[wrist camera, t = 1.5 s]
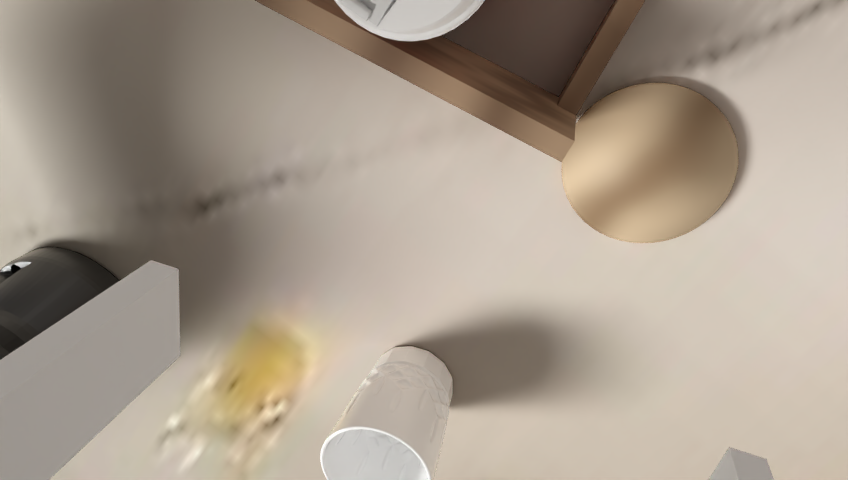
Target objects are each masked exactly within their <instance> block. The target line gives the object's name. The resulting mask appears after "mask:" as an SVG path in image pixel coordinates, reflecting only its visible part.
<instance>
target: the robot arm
mask: <svg viewBox="0 0 848 480" xmlns="http://www.w3.org/2000/svg"><path fill="white" fill-rule="evenodd" d="M179 356H180V310H179V269H177V268H174V267H171V266H168V265H165V264H162V263H159V262H156V261H153V260H150V261H149V262H147V263H146V264H144V265H143V266H141V267H140V268H138V269H137V270H135V271H134V272H132V273H131V274H129V275H128V276H126V277H125V278H123V279H122V280H120V281H118V280H117V279H116V278H115V277H114V276H113V275H112V274H111V273H110V272H108V271H107V270H106V269H105V268H103V267H102V266H100V265H99V264H97V263H96V262H94V261H93V260H91V259H89V258H87V257H85V256H83V255H81V254H78V253H76V252H73V251H70V250H66V249H62V248H53V247H47V248H40V249H36V250H33V251H31V252H29V253H27V254H25V255H23V256H21V257H19V258H17V259H15V260H13V261H11V262H9V263H8V264H7V265H5V266H4V267H3V268H2V269H1V270H0V480H49V479H50V478H52V477H53V476H54V475H55V474H56V473H57V472H58V471H59V470H60V469H61V468H62V467H63V466H64V465H65V464H66V463H67V462H68V461H70V460H71V459H72V458H73V457H74V456H75V455H76V454H77V453H78V452H79V451H80V450H81V449H82V448H83V447H84V446H85V445H86V444H87V443H89V442H90V441H91V440H92V439H93V438H94V437H95V436H96V435H97V434H98V433H99V432H100V431H101V430H102V429H103V428H104V427H105V426H107V425H108V424H109V423H110V422H111V421H112V420H113V419H114V418H115V417H116V416H117V415H118V414H119V413H120V412H121V411H122V410H123V409H124V408H126V407H127V406H128V405H129V404H130V403H131V402H132V401H133V400H134V399H135V398H136V397H137V396H138V395H139V394H140V393H141V392H142V391H144V390H145V389H146V388H147V387H148V386H149V385H150V384H151V383H152V382H153V381H154V380H155V379H156V378H157V377H158V376H159V375H160V374H161V373H163V372H164V371H165V370H166V369H167V368H168V367H169V366H170V365H171V364H172V363H173V362H174V361H175V360H176V359H177V358H178V357H179ZM709 480H774V478H773V476H772V473H771V470H770V467H769V465H768V462H767V459H764V458H761V457H758V456H755V455H752V454H749V453H746V452H743V451H740V450H737V449H734V448H730V447H729V448H728V450H727V451H726V453H725V454H724V456H723V457H722V459H721V461H720V462H719V464H718V465H717V467H716V469H715V470H714V472H713V473H712V475H711V476H710V478H709Z"/></svg>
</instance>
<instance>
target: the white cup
mask: <svg viewBox="0 0 848 480" xmlns="http://www.w3.org/2000/svg"><path fill="white" fill-rule="evenodd" d="M452 395H453V378H452V376H451V374H450V373H449V371H448V369H447V367H446V365H445V364H444V362H442V361H441V360H440V359H438V358H437V357H436V356H435V355H433V354H432V353H431V352H429V351H426V350H423V349H420V348H417V347H413V346H405V347H394V348H392V349H391V350H389V351H387V352H386V353H384V354H382V355H381V356H380V357H379V359H378V361H377V362H376V364H375V366H374V367H373V369H372V371H371V372H370V374H369V375H368V376H367V377H366V378H365V379H364V381H363V382H362V384H361V385H360V387H359V388H358V390H357V391H356V392H355V394H354V396H353V397H352V399H351V400H350V402H349V404H348V405H347V407H346V408H345V410H344V412H343V413H342V415H341V417H340V418H339V420H338V421H337V423H336V425H335V426H334V428H333V429H332V431H331V433H330V434H329V436H328V437H327V439H326V441H325V442H324V444H323V446H322V449H321V454H320V461H321V466H322V470H323V472H324V474H325V476H326V478H327V480H434V477H435V472H436V468H437V464H438V460H439V456H440V452H441V448H442V444H443V439H444V435H445V429H446V424H447V420H448V414H449V407H450V403H451V399H452Z"/></svg>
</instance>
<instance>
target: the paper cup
mask: <svg viewBox="0 0 848 480" xmlns="http://www.w3.org/2000/svg"><path fill="white" fill-rule="evenodd" d="M334 1H335V2H336V3H337V4H338V6H339V7H340V8H341V9H342V10H343V11H344V12H345V14H346V15H348V16H349V17H350V18H351V19H352V20H353V21H355V22H356V23H357V24H358V25H360V26H362V27H363V28H365V29H367V30H368V31H370V32H372V33H374V34H377V35H379V36H382V37H384V38H389V39H393V40H398V41H419V40H427V39H431V38H434V37H437V36H441V35H443V34H445V33H447V32H449V31H451V30H453V29H455V28H456V27H458V26H459V25H460V24H462V23H463V22H465V21H466V20H467V19H469V18H470V17H471V16H472V15H473V14H474V13H475V12H476V11H477V10H478V9H479V8H480V6H481V5H482V4H483V2H484V1H485V0H334Z"/></svg>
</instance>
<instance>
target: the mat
mask: <svg viewBox="0 0 848 480" xmlns="http://www.w3.org/2000/svg"><path fill="white" fill-rule="evenodd" d="M738 157H739V156H738V145H737V141H736V137H735V134H734V132H733V130H732V127H731V125H730V123H729V122H728V120H727V119H726V117H725V116H724V114H723V113H722V112H721V111H720V110H719V109H718V108H717V107H716V106H715V105H714V104H713V103H712V102H711V101H709V100H708V99H707V98H706V97H704V96H702V95H701V94H699V93H698V92H695V91H693V90H691V89H689V88H686V87H683V86H679V85H675V84H669V83H643V84H637V85H633V86H628V87H625V88H623V89H620V90H617V91H615V92H613V93H611V94H609V95H607V96H605V97H604V98H602V99H601V100H599V101H598V102H596V103H595V104H594V105H593V106H592V107H590V108H589V109H588V110H587V111H586V112H585V113H584V114H583V116H582V117H581V118H580V119H579V120H578V122H577V123H576V125H575V141H574V143H573V145H572V146H571V148H570V149H569V151H568V153H567V154H566V156H565V158H564V159H563V161H562V181H563V185H564V190H565V192H566V195H567V198H568V200H569V202H570V204H571V206H572V207H573V209H574V210H575V211H576V213H577V214H578V215H579V216H580V217H581V218H582V219H583V221H584V222H586V223H587V224H588V225H589V226H591V227H592V228H593V229H595V230H597V231H598V232H600V233H602V234H604V235H606V236H608V237H611V238H614V239H617V240H621V241H626V242H632V243H654V242H661V241H666V240H669V239H673V238H676V237H679V236H681V235H684V234H686V233H688V232H690V231H692V230H694V229H695V228H697V227H698V226H700V225H701V224H703V223H704V222H705V221H707V220H708V219H709V218H710V217H711V216H712V215H713V214H714V213H715V212H716V211H717V210H718V209H719V208H720V207H721V205H722V204H723V202H724V201H725V200H726V198H727V196H728V194H729V193H730V191H731V189H732V186H733V184H734V181H735V178H736V174H737V169H738Z"/></svg>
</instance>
